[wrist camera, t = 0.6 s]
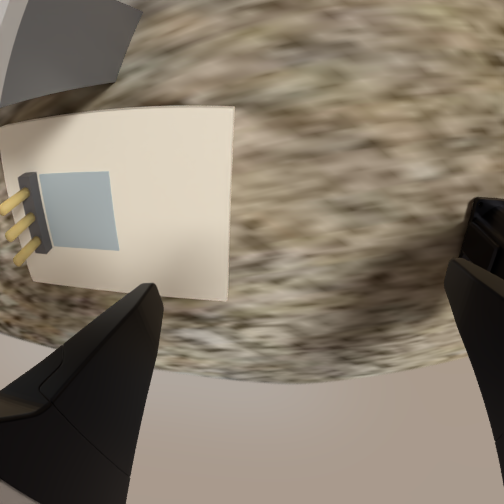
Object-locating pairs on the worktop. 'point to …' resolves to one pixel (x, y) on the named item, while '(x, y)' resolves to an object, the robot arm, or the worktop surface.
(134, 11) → the plug block
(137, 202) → the board
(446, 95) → the worktop surface
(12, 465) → the robot arm
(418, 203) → the worktop surface
